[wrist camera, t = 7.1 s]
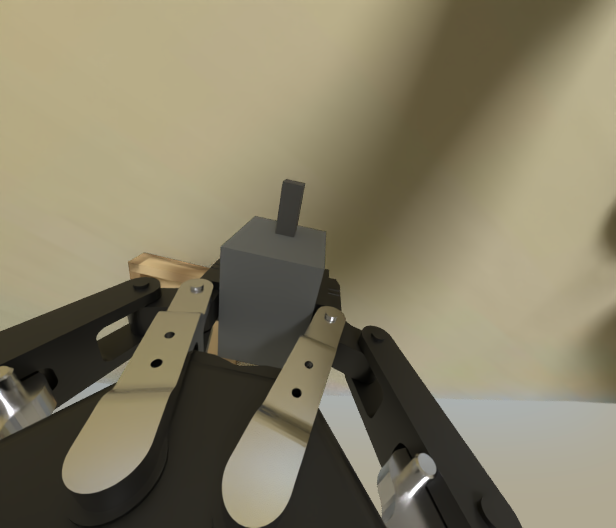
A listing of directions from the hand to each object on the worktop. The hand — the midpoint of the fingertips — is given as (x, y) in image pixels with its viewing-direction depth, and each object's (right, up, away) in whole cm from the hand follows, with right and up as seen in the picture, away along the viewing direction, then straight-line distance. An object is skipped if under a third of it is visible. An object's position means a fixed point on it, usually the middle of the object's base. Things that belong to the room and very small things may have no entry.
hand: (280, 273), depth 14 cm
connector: (0, 0, 0) cm, 1 cm away
